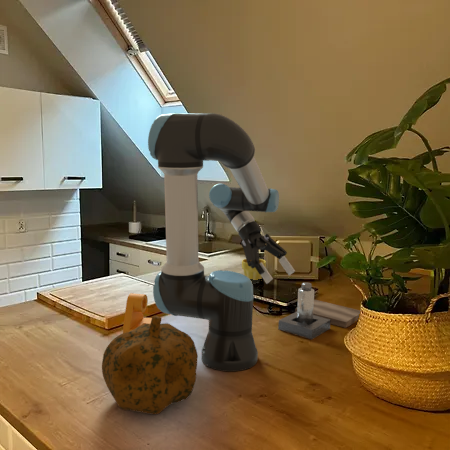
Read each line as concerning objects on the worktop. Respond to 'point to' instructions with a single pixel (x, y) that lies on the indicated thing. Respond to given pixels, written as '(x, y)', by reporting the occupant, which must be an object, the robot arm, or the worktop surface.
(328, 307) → the board
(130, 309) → the bracket
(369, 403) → the worktop surface
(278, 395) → the worktop surface
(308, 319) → the clear bottle
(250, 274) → the plant pot
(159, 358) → the decorative pumpkin
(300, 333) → the socket block
